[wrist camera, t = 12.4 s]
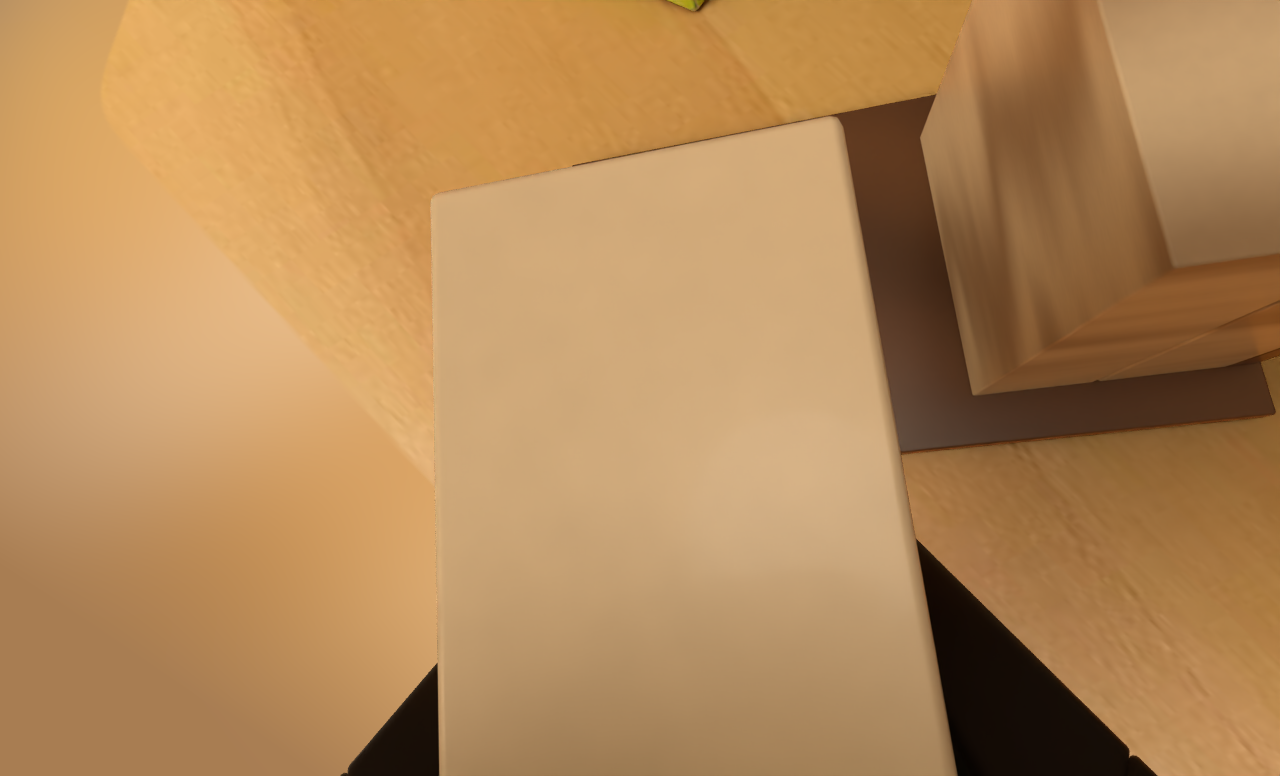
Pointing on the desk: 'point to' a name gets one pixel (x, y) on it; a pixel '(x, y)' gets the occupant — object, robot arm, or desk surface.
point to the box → (688, 4)
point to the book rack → (1078, 222)
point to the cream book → (673, 475)
